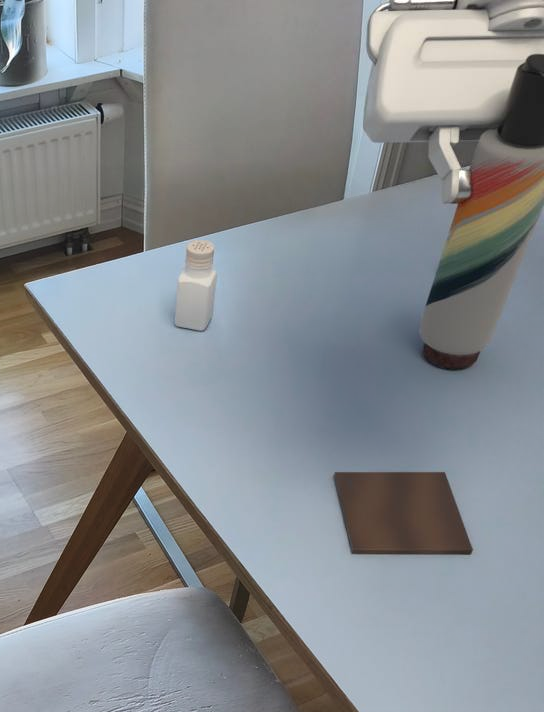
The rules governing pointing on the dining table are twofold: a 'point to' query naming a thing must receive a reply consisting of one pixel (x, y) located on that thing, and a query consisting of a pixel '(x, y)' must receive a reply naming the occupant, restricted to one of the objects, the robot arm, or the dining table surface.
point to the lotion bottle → (491, 223)
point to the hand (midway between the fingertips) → (506, 200)
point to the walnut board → (401, 513)
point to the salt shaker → (196, 287)
